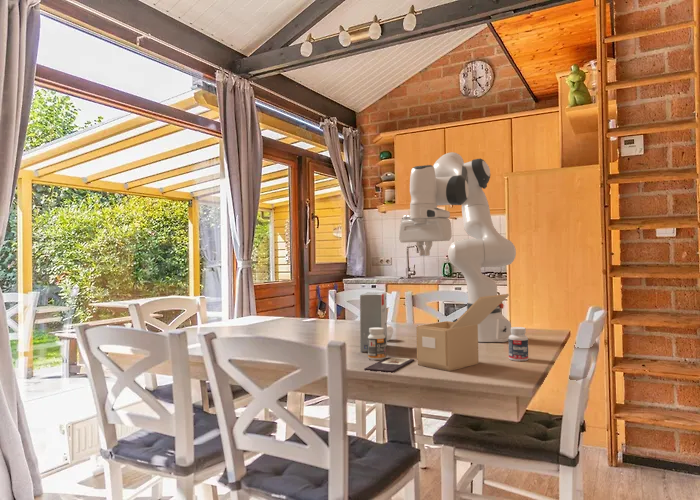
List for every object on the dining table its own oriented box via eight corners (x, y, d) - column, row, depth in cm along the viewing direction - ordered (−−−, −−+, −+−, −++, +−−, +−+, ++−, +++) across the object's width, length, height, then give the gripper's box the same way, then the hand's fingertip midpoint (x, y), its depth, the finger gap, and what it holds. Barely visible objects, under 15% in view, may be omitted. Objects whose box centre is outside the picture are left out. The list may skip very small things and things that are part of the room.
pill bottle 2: (512, 361, 163) (511, 329, 163) (506, 357, 169) (505, 326, 169) (531, 361, 163) (530, 329, 163) (524, 357, 169) (524, 326, 169)
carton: (447, 357, 170) (446, 320, 171) (479, 363, 161) (478, 324, 161) (415, 365, 161) (414, 325, 161) (447, 371, 151) (447, 329, 151)
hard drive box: (381, 352, 182) (380, 294, 182) (359, 352, 183) (358, 295, 183) (387, 345, 197) (386, 291, 197) (367, 344, 198) (366, 291, 198)
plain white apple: (373, 341, 205) (373, 321, 205) (378, 338, 212) (377, 318, 212) (391, 342, 203) (391, 321, 203) (395, 339, 210) (395, 319, 210)
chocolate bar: (364, 368, 155) (388, 357, 171) (364, 371, 155) (388, 360, 171) (392, 371, 151) (414, 359, 167) (392, 374, 151) (414, 362, 167)
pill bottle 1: (380, 361, 168) (380, 329, 168) (365, 359, 170) (364, 328, 171) (388, 358, 172) (388, 327, 172) (373, 356, 175) (372, 326, 175)
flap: (478, 322, 160) (508, 293, 152) (479, 323, 160) (509, 295, 152) (449, 327, 151) (479, 297, 143) (450, 328, 151) (481, 298, 143)
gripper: (394, 215, 180) (395, 256, 180) (441, 211, 164) (442, 255, 164) (407, 216, 184) (408, 255, 184) (454, 211, 168) (455, 255, 168)
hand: (424, 255), depth 174 cm, fingers closed
